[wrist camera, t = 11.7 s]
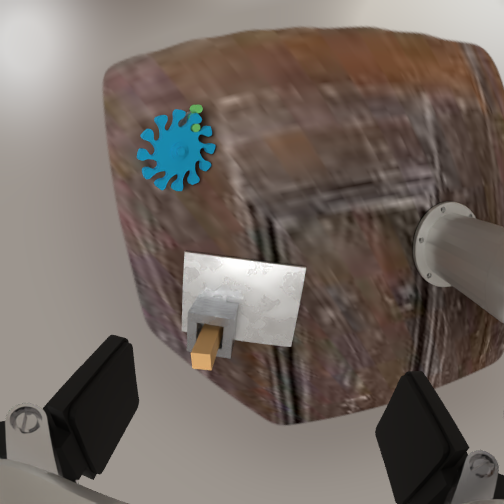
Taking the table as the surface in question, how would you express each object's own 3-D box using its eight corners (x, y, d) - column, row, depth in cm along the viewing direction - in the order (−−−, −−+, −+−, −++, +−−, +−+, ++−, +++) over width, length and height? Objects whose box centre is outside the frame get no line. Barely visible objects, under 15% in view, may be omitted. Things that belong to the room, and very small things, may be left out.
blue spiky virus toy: (193, 204, 37) (125, 174, 29) (173, 192, 40) (113, 165, 33) (235, 127, 35) (174, 86, 28) (211, 124, 39) (155, 88, 32)
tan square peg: (224, 315, 41) (210, 354, 31) (224, 328, 41) (211, 370, 32) (208, 314, 41) (190, 352, 31) (209, 328, 41) (192, 368, 32)
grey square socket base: (305, 266, 39) (310, 281, 34) (290, 344, 42) (292, 366, 37) (186, 250, 40) (172, 262, 34) (183, 328, 43) (171, 348, 37)
